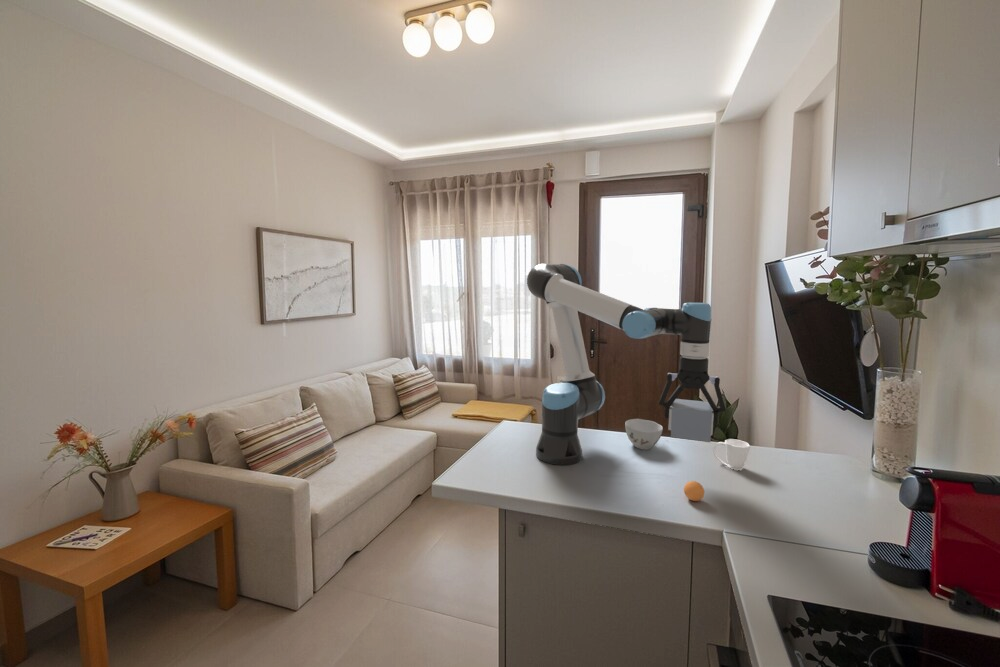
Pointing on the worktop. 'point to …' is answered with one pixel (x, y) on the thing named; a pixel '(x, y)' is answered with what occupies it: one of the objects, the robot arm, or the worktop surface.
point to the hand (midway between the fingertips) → (689, 431)
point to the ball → (694, 491)
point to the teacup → (643, 432)
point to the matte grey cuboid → (691, 420)
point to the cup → (734, 453)
